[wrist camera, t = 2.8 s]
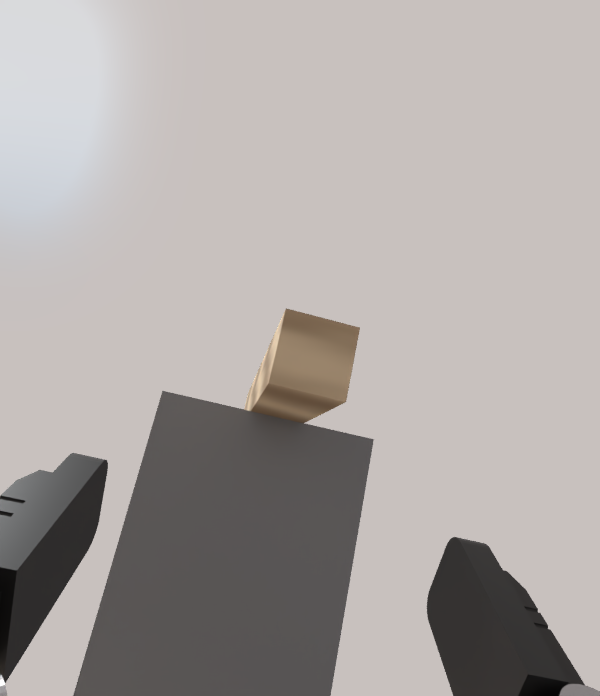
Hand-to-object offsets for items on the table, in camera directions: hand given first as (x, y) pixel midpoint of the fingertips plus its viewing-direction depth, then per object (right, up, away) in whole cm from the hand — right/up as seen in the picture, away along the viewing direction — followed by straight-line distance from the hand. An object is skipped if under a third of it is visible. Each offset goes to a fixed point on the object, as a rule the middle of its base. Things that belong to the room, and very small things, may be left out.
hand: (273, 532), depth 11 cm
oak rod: (-1, 0, +18) cm, 18 cm away
